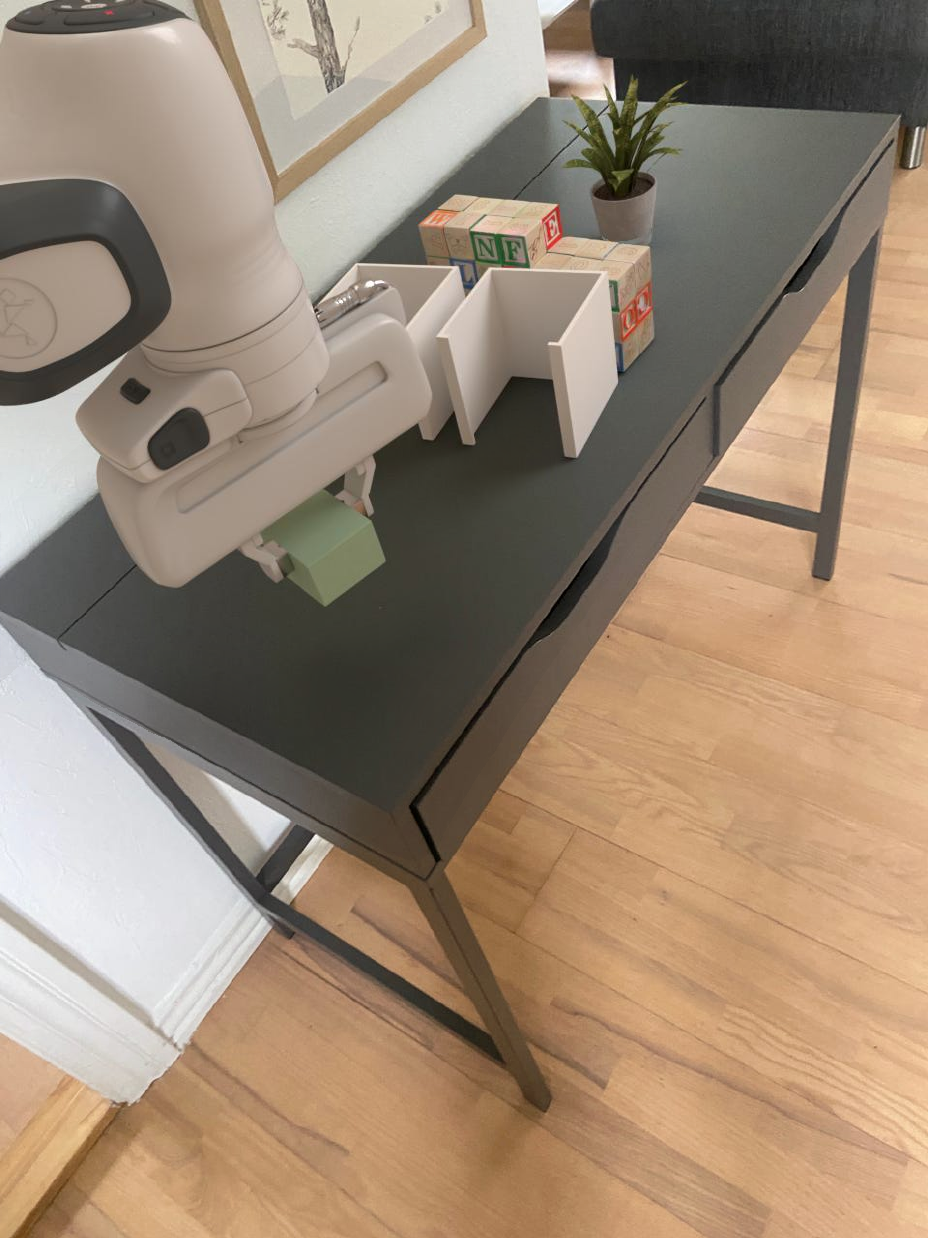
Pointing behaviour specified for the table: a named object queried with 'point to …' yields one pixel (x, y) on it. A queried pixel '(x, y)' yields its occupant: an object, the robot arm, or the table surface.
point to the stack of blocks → (542, 257)
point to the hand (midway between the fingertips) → (320, 544)
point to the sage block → (326, 546)
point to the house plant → (623, 165)
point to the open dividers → (506, 340)
